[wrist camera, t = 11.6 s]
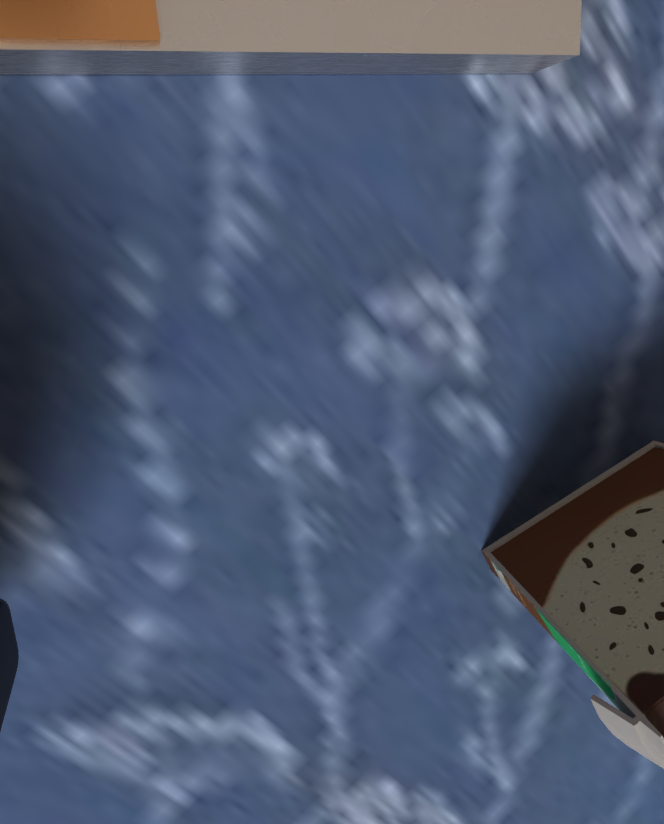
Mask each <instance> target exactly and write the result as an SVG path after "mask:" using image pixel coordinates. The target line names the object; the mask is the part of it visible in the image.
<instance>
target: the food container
mask: <svg viewBox="0 0 664 824" xmlns="http://www.w3.org/2000/svg"><path fill="white" fill-rule="evenodd" d="M482 553H483V555H484V557H485V559H486V561H487V563H488V565H489V567H490V569H491V570H492V572H493V573H494V574H495V575H496V576H497V577H498V578H499V579H500V580H501V581H502V582H503V584H504V585H505V586H506V587H507V588H508V589H509V590H510V591H511V592H512V593H513V594H514V596H515V597H516V598H517V599H518V600H519V601H520V602H521V603H522V604H523V605H524V606H525V608H526V609H527V610H528V611H529V612H530V613H531V614H532V615H533V616H534V617H535V618H536V620H537V621H538V622H539V623H540V624H541V625H542V626H543V627H544V628H545V629H546V631H547V632H548V633H549V634H550V635H551V636H552V637H553V638H554V639H555V640H556V641H557V643H558V644H559V645H560V646H561V647H562V648H563V649H564V650H565V651H566V652H567V653H568V655H569V656H570V657H571V658H572V659H573V660H574V661H575V662H576V663H577V664H578V665H579V667H580V668H581V669H582V670H583V671H584V672H585V673H586V674H587V675H588V676H589V677H590V679H591V680H592V681H593V682H594V683H595V684H596V685H597V686H598V687H599V688H600V689H601V691H602V692H603V693H604V694H605V695H606V696H607V697H608V698H609V699H610V700H611V701H612V703H613V704H614V705H615V706H616V707H617V708H618V709H619V710H618V709H616V708H615V707H613V706H611V705H610V704H608V703H607V702H605V701H603V700H602V699H600V698H598V697H597V696H595V695H593V696H592V697H591V701H592V703H593V705H594V707H595V709H596V711H597V713H598V715H599V718H600V719H601V720H602V721H603V723H604V724H605V725H606V726H607V728H608V729H609V730H610V732H611V733H612V734H613V735H614V736H616V737H617V738H618V739H620V740H621V741H622V742H624V743H625V744H626V745H627V746H629V747H631V748H632V749H634V750H635V751H637V752H638V753H640V754H641V755H643V756H645V757H646V758H648V759H649V760H651V761H652V762H654V763H655V764H657V765H659V766H660V767H662V768H663V769H664V443H661V442H658V441H652V442H651V443H649V444H648V445H646V446H644V447H643V448H641V449H640V450H638V451H637V452H635V453H633V454H632V455H630V456H629V457H627V458H626V459H624V460H623V461H621V462H619V463H618V464H616V465H615V466H613V467H612V468H610V469H608V470H607V471H605V472H604V473H602V474H601V475H599V476H597V477H596V478H594V479H593V480H591V481H590V482H588V483H587V484H585V485H583V486H582V487H580V488H579V489H577V490H576V491H574V492H572V493H571V494H569V495H568V496H566V497H565V498H563V499H561V500H560V501H558V502H557V503H555V504H554V505H552V506H550V507H549V508H547V509H546V510H544V511H543V512H541V513H540V514H538V515H536V516H535V517H533V518H532V519H530V520H529V521H527V522H525V523H524V524H522V525H521V526H519V527H518V528H516V529H514V530H513V531H511V532H510V533H508V534H507V535H505V536H504V537H502V538H500V539H499V540H497V541H496V542H494V543H493V544H491V545H489V546H488V547H486V548H485V549H483V550H482Z"/></svg>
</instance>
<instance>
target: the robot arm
mask: <svg viewBox="0 0 664 824" xmlns="http://www.w3.org/2000/svg"><path fill="white" fill-rule="evenodd" d="M18 657H19V655H18V646H17V641H16V637H15V632H14V627H13V623H12V618H11V613H10V609H9V606H8V604H7V602H6V601H4V600H2V599H0V731H1V727H2V724H3V720H4V716H5V712H6V709H7V705H8V701H9V698H10V694H11V690H12V686H13V683H14V679H15V675H16V671H17V667H18Z"/></svg>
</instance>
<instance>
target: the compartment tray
mask: <svg viewBox="0 0 664 824" xmlns="http://www.w3.org/2000/svg"><path fill="white" fill-rule="evenodd" d="M581 3H582V0H0V75H267V74H530V73H533V72H536V71H538V70H541V69H544V68H546V67H549V66H552V65H554V64H557V63H560V62H562V61H565V60H568V59H570V58H573V57H576V56H578V55H580V31H581Z"/></svg>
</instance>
